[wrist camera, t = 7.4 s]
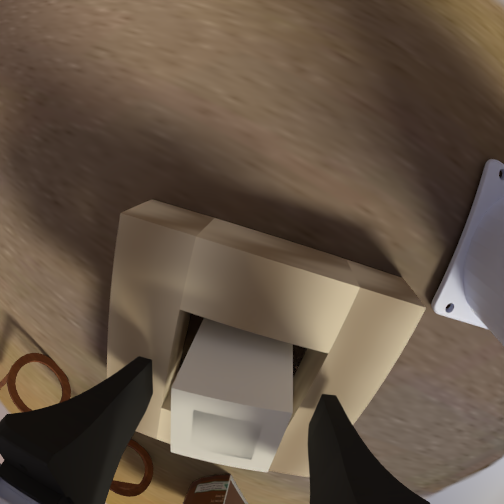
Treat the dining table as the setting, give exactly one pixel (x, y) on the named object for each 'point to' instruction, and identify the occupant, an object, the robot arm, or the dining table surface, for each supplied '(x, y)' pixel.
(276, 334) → the holder
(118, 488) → the glasses
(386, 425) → the dining table surface
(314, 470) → the robot arm
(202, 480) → the food container
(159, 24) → the dining table surface
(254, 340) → the connector plug
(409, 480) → the dining table surface
